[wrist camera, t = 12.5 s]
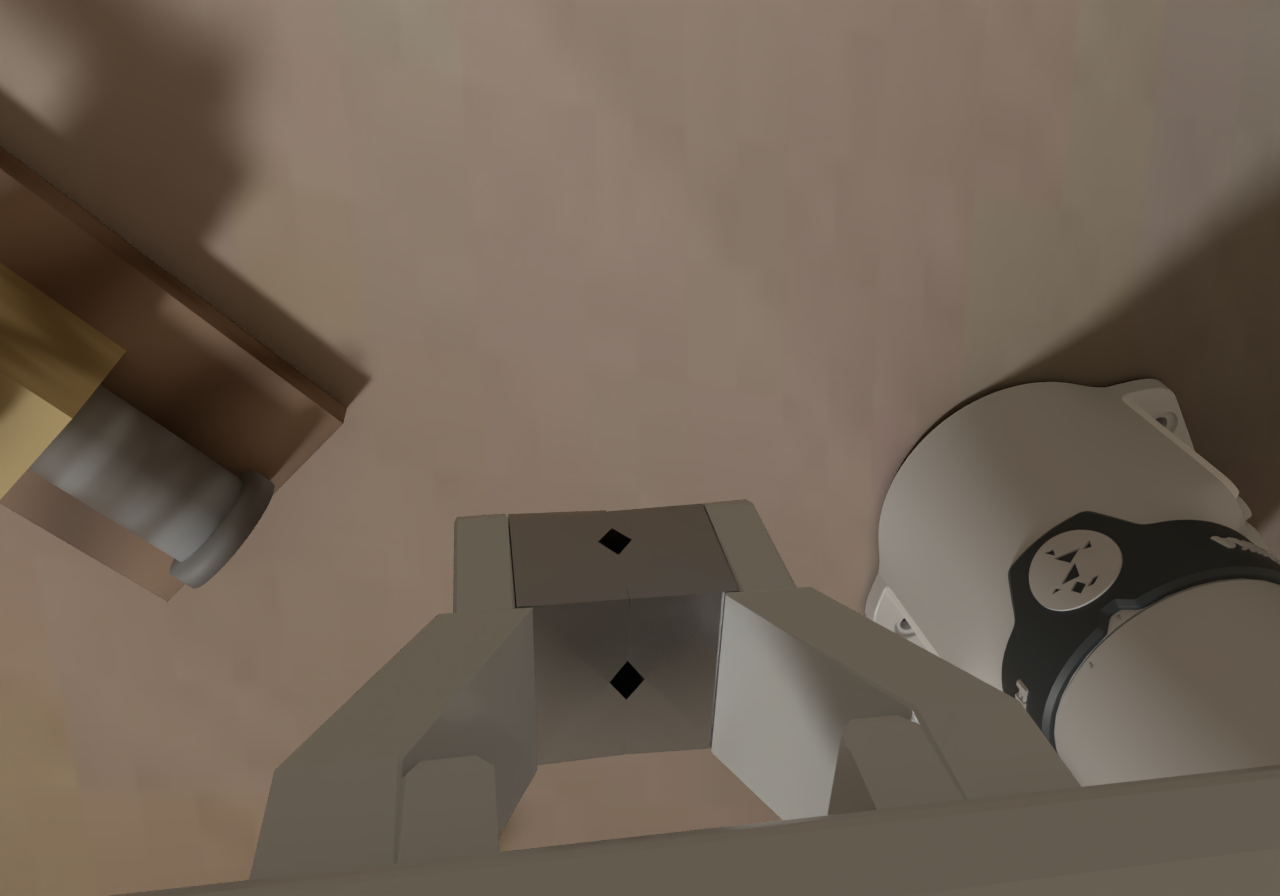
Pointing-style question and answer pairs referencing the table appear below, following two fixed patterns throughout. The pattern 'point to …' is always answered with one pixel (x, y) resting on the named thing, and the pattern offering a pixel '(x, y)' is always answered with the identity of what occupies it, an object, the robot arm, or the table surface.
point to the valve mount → (134, 399)
